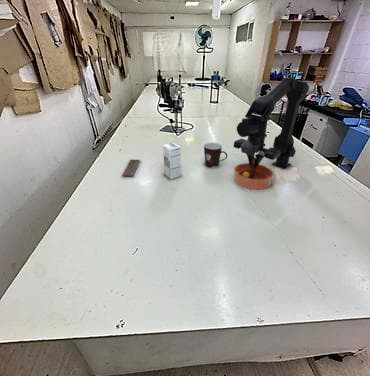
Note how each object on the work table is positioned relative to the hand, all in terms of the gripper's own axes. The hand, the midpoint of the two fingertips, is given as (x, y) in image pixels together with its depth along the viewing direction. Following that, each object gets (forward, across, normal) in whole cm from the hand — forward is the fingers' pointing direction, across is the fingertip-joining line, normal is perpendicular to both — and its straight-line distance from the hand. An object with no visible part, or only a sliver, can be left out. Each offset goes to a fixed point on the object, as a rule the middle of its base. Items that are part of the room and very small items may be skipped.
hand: (253, 167), depth 101 cm
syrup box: (+6, -26, -23) cm, 35 cm away
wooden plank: (+6, -44, -33) cm, 55 cm away
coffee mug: (+6, -20, -2) cm, 21 cm away
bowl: (+6, +1, -1) cm, 6 cm away
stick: (+5, 0, 0) cm, 5 cm away
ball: (+4, -2, -2) cm, 5 cm away
